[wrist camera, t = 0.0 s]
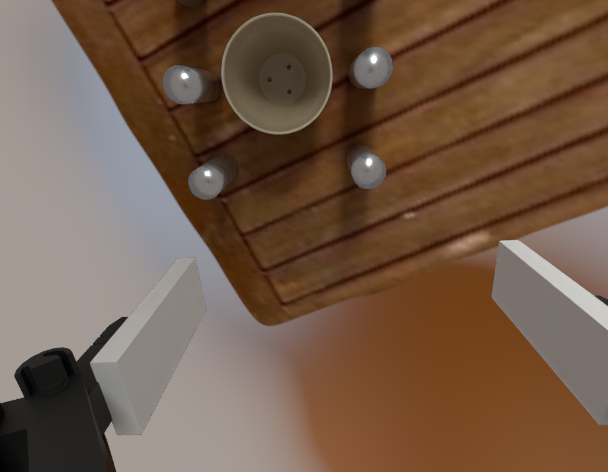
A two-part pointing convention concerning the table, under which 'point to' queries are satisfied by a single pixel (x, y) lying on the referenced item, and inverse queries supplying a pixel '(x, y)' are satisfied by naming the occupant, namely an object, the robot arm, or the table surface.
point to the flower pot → (276, 73)
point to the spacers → (223, 168)
